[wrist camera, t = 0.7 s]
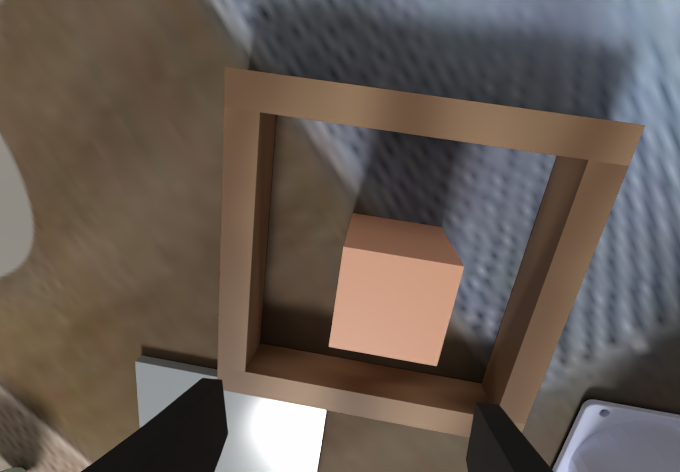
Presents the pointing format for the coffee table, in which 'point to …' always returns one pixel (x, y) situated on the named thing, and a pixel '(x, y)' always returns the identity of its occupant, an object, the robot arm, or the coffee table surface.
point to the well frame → (530, 286)
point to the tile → (239, 420)
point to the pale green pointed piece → (14, 469)
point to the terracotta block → (395, 289)
